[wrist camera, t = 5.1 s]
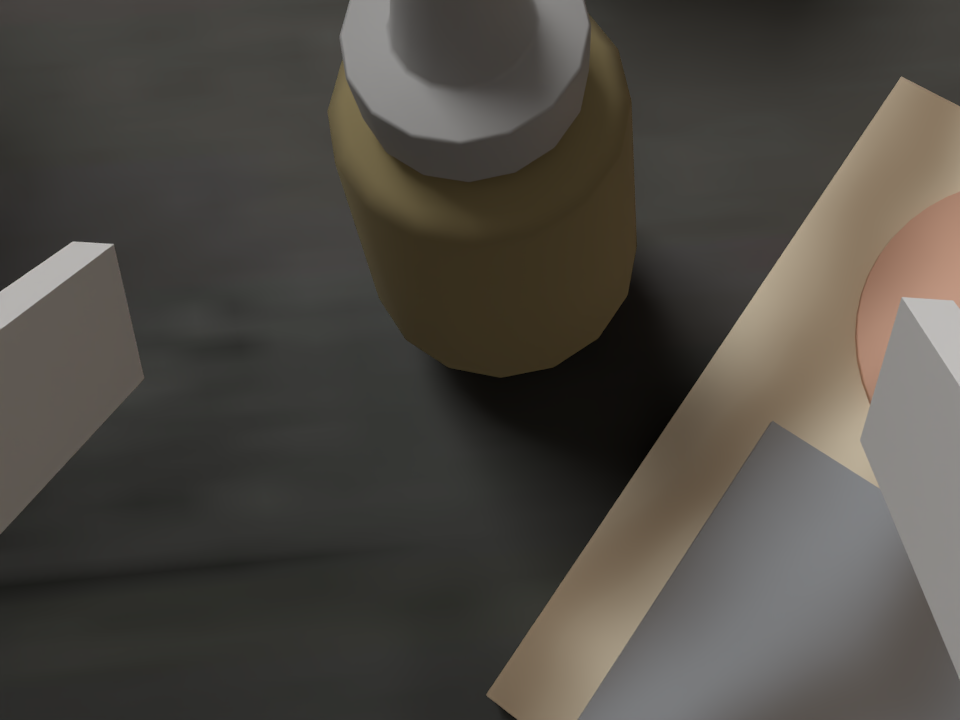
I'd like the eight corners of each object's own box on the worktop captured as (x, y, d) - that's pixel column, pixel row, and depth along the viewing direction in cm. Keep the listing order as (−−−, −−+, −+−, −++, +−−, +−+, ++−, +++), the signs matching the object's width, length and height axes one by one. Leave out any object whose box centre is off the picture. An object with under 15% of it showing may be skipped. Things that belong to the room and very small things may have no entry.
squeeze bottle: (398, 184, 31) (187, -331, 13) (624, 178, 30) (712, -377, 12) (389, 402, 29) (123, 133, 11) (630, 402, 28) (745, 112, 10)
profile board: (490, 688, 26) (484, 696, 24) (884, 100, 30) (904, 71, 28) (976, 1065, 23) (1011, 1106, 21) (1357, 347, 26) (1413, 331, 24)
